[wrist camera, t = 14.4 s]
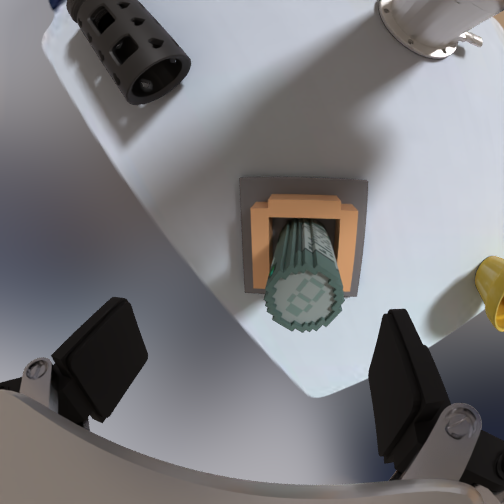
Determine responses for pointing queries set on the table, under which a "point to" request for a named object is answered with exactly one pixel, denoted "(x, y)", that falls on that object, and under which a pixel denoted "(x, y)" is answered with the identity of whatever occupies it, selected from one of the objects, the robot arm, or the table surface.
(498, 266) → the plant pot
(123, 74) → the muzzle brake
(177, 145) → the table surface
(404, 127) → the table surface
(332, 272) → the can
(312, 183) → the socket block
